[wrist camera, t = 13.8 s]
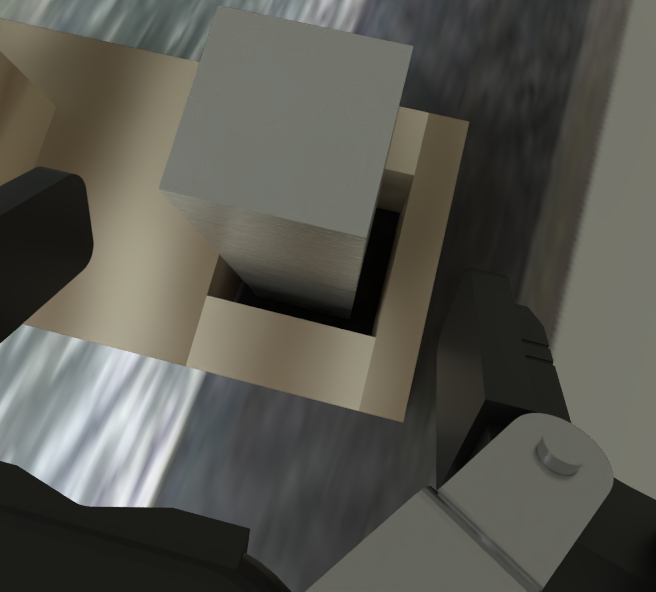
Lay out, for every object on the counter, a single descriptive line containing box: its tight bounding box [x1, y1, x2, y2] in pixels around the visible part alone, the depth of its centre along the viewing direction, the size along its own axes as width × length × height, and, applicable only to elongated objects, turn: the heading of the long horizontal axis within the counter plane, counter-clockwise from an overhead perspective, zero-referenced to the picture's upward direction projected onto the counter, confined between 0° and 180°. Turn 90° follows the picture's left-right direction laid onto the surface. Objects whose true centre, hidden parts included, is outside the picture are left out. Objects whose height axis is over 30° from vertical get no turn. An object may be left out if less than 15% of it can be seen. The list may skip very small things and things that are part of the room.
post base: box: [0, 18, 469, 422], centre depth 16 cm, size 20×11×12 cm, turn 76°
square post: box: [159, 5, 413, 319], centre depth 15 cm, size 4×4×12 cm
